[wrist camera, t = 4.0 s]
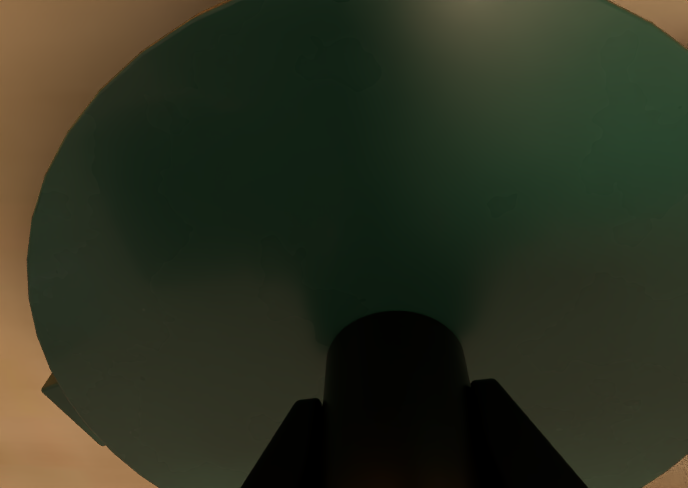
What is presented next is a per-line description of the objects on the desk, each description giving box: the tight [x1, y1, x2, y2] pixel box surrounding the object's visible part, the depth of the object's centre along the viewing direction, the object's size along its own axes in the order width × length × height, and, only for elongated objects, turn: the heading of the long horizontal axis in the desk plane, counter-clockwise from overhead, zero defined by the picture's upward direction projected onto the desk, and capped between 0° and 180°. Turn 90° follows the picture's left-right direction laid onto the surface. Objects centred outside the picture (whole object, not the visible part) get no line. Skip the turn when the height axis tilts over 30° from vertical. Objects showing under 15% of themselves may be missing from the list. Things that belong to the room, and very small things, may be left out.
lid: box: [27, 0, 688, 488], centre depth 9 cm, size 14×14×6 cm
